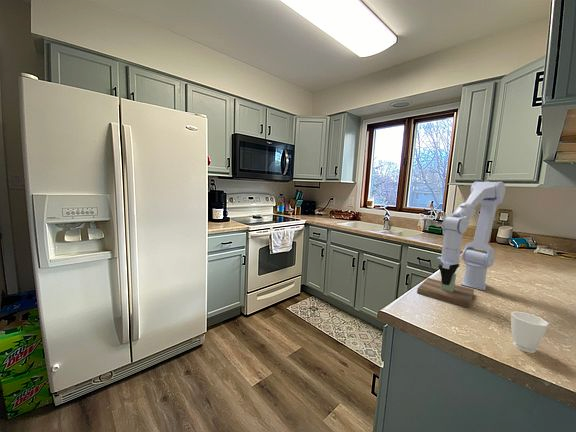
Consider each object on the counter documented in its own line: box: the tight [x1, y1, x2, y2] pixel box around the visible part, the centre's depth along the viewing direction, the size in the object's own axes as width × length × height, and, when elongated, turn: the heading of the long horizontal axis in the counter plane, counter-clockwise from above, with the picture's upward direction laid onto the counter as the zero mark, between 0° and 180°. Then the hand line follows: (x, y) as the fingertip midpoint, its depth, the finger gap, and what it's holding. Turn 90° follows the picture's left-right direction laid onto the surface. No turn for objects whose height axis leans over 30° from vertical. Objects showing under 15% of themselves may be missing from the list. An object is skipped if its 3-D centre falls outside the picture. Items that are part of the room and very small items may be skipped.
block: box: [440, 273, 457, 292], centre depth 93 cm, size 4×4×6 cm
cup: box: [510, 310, 550, 354], centre depth 63 cm, size 7×10×8 cm
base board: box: [416, 277, 475, 309], centre depth 94 cm, size 16×16×2 cm
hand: (446, 282), depth 93 cm, fingers open, 4 cm apart
